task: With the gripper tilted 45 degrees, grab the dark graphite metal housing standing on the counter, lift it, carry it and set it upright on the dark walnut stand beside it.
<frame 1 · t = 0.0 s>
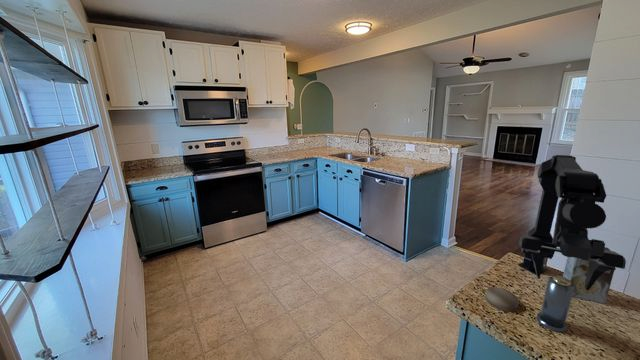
hand: (561, 283, 67), 15 cm above the counter, tool pointing down, fingers open, 9 cm apart
coffee box: (581, 294, 85), on the counter
stand: (500, 301, 83), on the counter
housing: (551, 323, 74), on the counter
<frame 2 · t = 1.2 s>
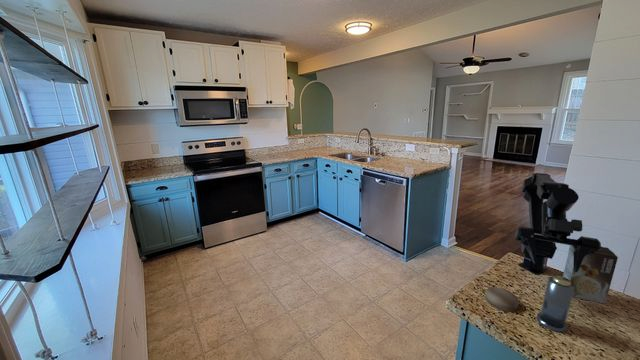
hand: (554, 267, 77), 13 cm above the counter, tool tilted 45°, fingers open, 9 cm apart
nothing on the counter moved.
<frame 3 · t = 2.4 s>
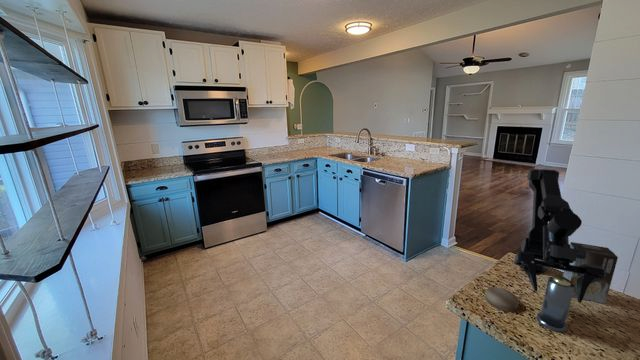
hand: (557, 296, 72), 8 cm above the counter, tool tilted 45°, fingers open, 9 cm apart
nothing on the counter moved.
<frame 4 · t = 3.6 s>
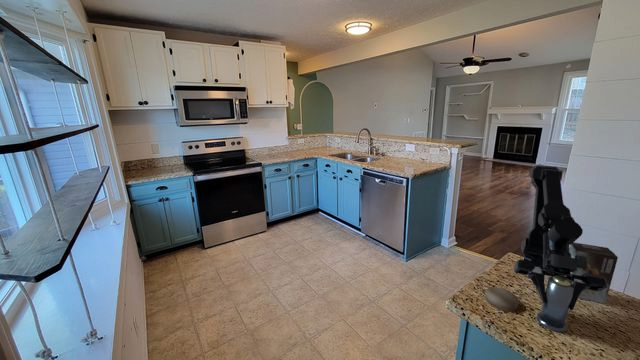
hand: (557, 306, 71), 7 cm above the counter, tool tilted 45°, fingers closed on housing, 5 cm apart
housing: (551, 323, 74), on the counter, touching gripper
everything else where it was.
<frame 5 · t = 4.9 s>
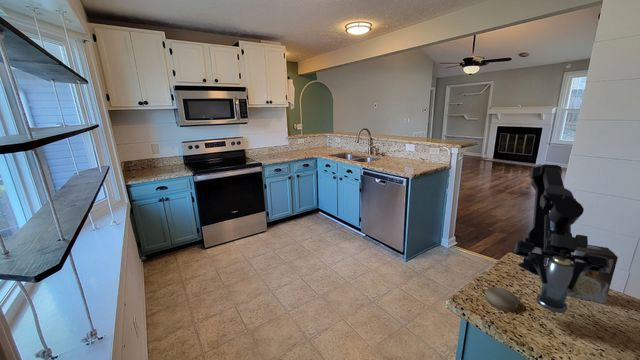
hand: (556, 286, 70), 12 cm above the counter, tool tilted 45°, fingers closed on housing, 5 cm apart
housing: (551, 304, 73), point 6 cm above the counter, touching gripper
everything else where it was.
when the fingers open (10 cm above the counter, at t = 6.6 s): housing drops 1 cm, resting on stand.
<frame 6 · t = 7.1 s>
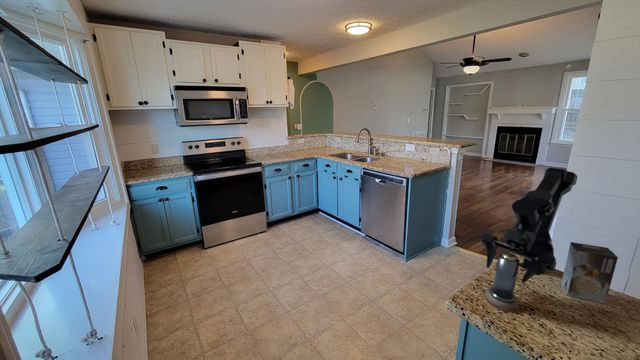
hand: (504, 274, 79), 10 cm above the counter, tool tilted 45°, fingers open, 9 cm apart
housing: (502, 295, 82), point 2 cm above the counter, touching stand
everything else where it was.
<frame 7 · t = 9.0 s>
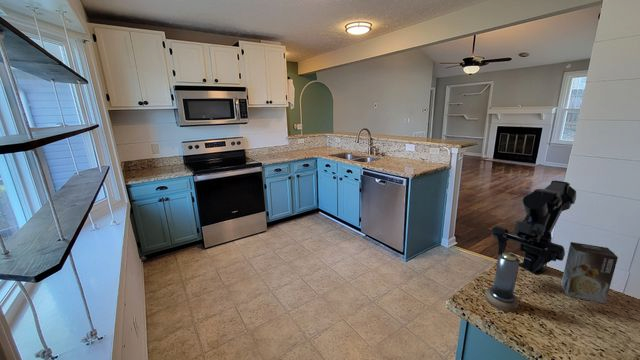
hand: (515, 265, 84), 10 cm above the counter, tool tilted 45°, fingers open, 9 cm apart
nothing on the counter moved.
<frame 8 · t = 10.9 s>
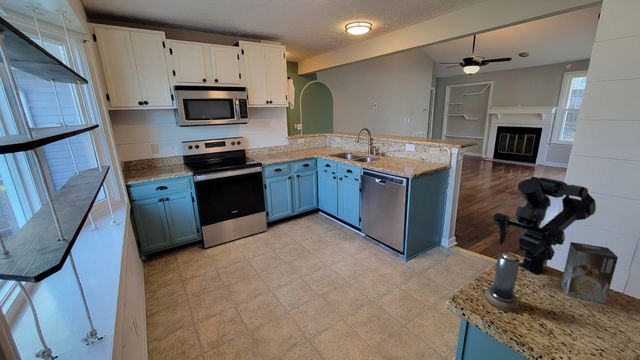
hand: (516, 249, 86), 14 cm above the counter, tool tilted 45°, fingers open, 9 cm apart
nothing on the counter moved.
at the end: housing 0.1 cm off-centre on the stand, point 2.0 cm above the stand's base; housing tilted 0°; the gripper is holding nothing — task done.
